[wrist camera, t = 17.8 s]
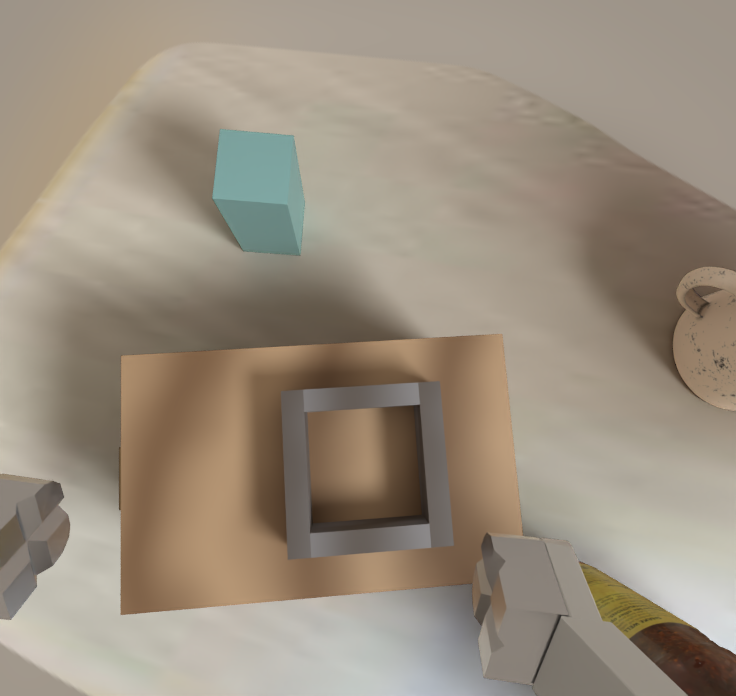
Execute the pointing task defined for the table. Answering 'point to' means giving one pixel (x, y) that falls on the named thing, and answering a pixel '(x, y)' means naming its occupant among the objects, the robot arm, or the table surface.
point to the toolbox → (311, 470)
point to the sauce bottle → (664, 638)
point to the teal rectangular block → (260, 191)
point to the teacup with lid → (708, 336)
